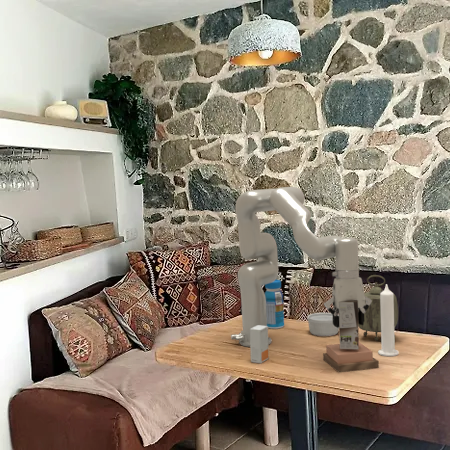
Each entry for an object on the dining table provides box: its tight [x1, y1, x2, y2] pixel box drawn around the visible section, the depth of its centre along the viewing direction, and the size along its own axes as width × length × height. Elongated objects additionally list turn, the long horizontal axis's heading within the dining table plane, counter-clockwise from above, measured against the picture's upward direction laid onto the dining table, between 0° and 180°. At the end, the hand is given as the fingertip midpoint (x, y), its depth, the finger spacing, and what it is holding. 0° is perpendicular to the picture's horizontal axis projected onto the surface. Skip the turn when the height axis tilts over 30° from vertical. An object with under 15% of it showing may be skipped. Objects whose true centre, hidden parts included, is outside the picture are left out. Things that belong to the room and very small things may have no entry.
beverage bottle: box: [264, 279, 285, 330], centre depth 256 cm, size 8×8×20 cm
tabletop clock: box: [358, 274, 399, 342], centre depth 229 cm, size 14×9×25 cm, turn 63°
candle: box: [377, 283, 400, 357], centre depth 211 cm, size 7×7×25 cm
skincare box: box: [249, 325, 270, 364], centre depth 210 cm, size 6×4×12 cm
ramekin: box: [307, 312, 339, 337], centre depth 243 cm, size 13×13×7 cm
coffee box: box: [338, 300, 360, 349], centre depth 202 cm, size 9×6×16 cm
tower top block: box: [325, 341, 374, 364], centre depth 203 cm, size 12×12×3 cm
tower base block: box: [322, 352, 380, 374], centre depth 203 cm, size 14×14×3 cm
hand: (348, 325), depth 202 cm, fingers closed on coffee box, 8 cm apart
